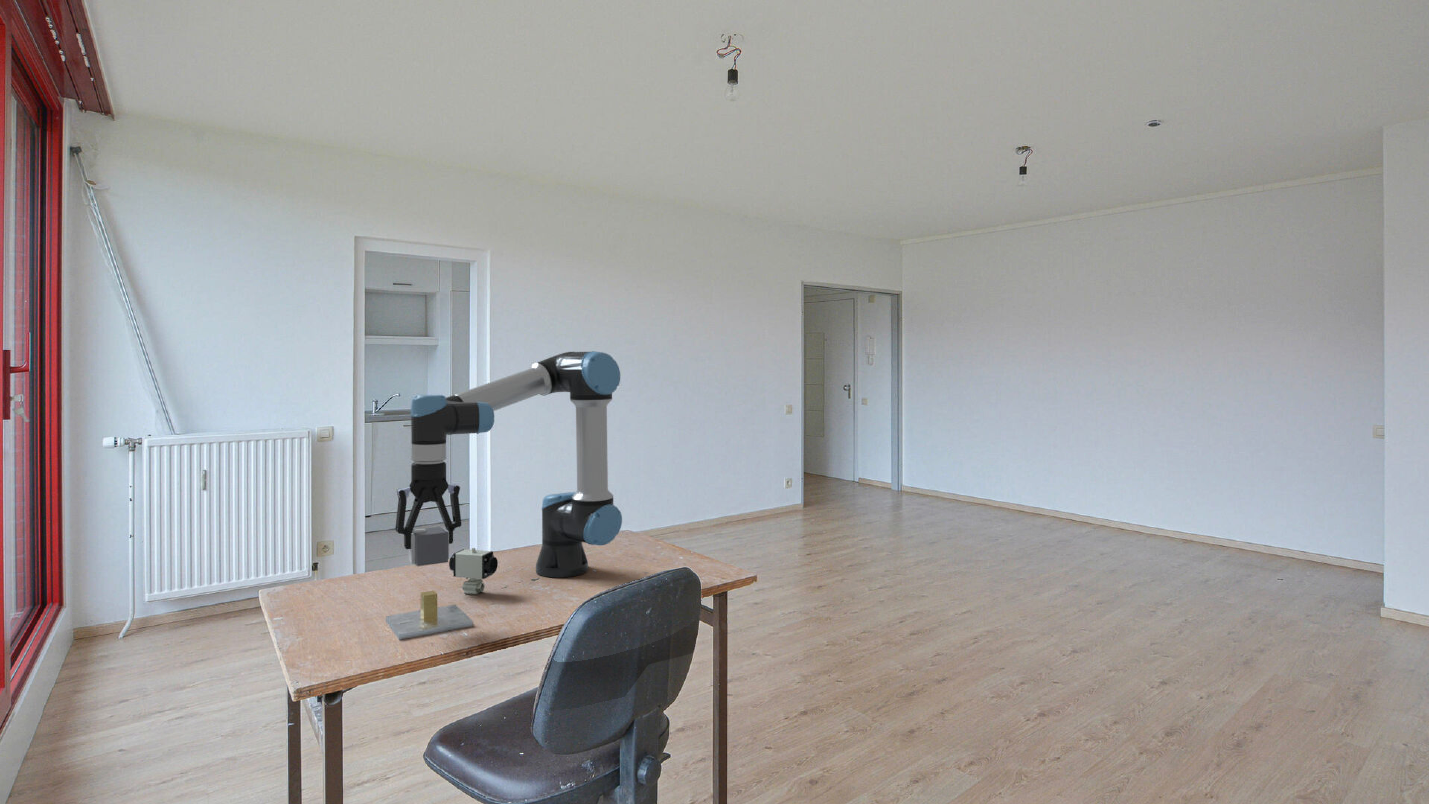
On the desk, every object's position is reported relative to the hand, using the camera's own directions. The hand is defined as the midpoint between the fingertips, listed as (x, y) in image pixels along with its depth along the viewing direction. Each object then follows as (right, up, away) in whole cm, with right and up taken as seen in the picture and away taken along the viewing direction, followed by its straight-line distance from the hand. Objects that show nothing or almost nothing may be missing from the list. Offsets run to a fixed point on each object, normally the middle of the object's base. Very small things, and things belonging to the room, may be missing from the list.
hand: (429, 560), depth 169 cm
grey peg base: (0, -15, +1) cm, 15 cm away
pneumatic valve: (+2, -14, +25) cm, 28 cm away
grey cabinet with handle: (0, 0, 0) cm, 0 cm away
